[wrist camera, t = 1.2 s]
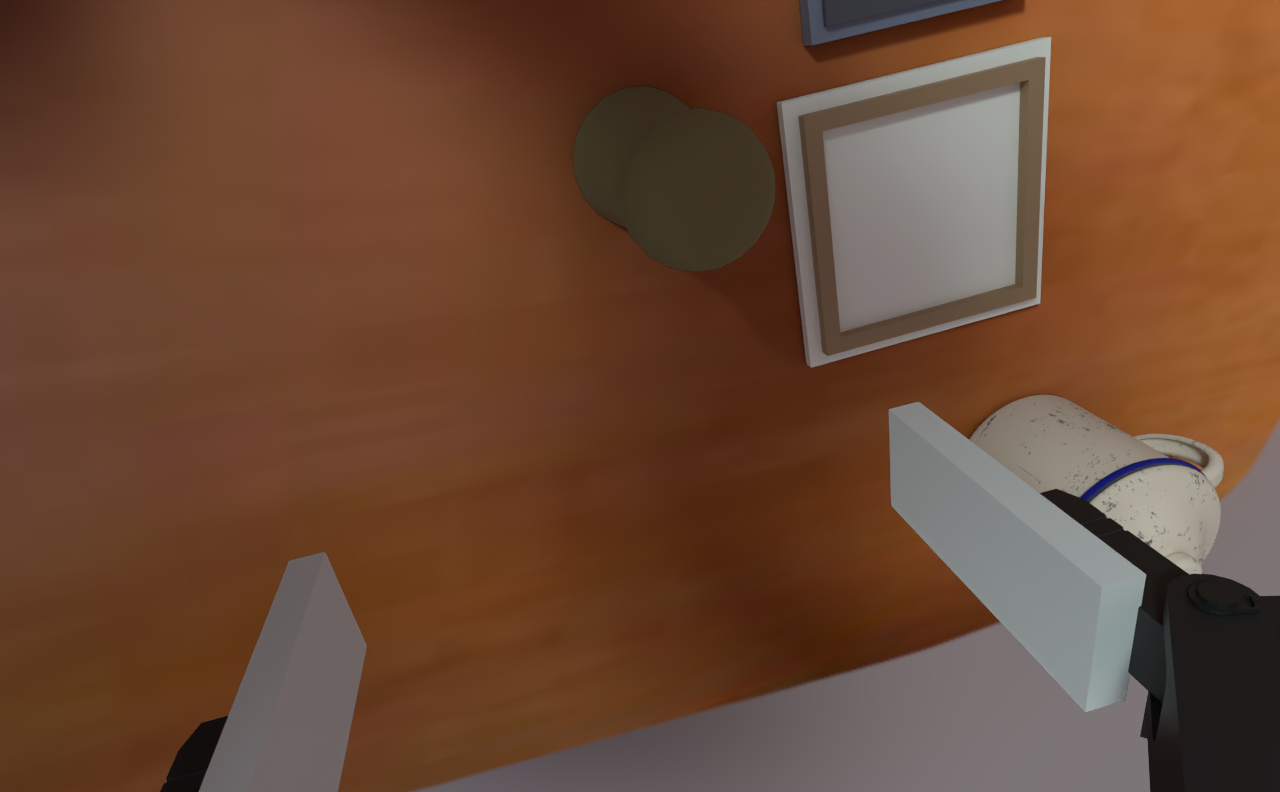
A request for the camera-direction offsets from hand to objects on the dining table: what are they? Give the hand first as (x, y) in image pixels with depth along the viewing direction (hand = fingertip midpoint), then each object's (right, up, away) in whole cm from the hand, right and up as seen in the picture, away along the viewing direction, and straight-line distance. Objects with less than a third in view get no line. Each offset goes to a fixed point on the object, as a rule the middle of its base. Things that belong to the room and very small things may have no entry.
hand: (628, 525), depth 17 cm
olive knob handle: (0, +13, +16) cm, 21 cm away
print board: (+14, +12, +19) cm, 27 cm away
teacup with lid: (+24, 0, +27) cm, 37 cm away
